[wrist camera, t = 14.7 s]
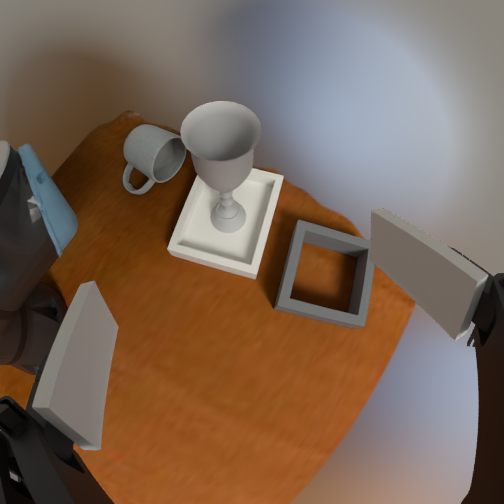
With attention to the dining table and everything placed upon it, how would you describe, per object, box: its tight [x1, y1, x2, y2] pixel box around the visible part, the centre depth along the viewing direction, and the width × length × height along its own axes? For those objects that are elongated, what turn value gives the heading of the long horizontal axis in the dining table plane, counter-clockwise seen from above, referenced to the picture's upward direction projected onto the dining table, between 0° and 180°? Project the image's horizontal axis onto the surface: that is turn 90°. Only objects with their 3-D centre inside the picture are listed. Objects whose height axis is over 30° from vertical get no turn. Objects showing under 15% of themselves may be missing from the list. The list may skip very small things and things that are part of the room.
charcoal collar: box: [274, 220, 375, 328], centre depth 35 cm, size 11×11×4 cm
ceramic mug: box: [123, 124, 186, 195], centre depth 38 cm, size 11×8×8 cm
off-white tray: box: [167, 168, 284, 280], centre depth 38 cm, size 12×15×3 cm
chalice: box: [180, 101, 261, 233], centre depth 30 cm, size 7×7×18 cm
